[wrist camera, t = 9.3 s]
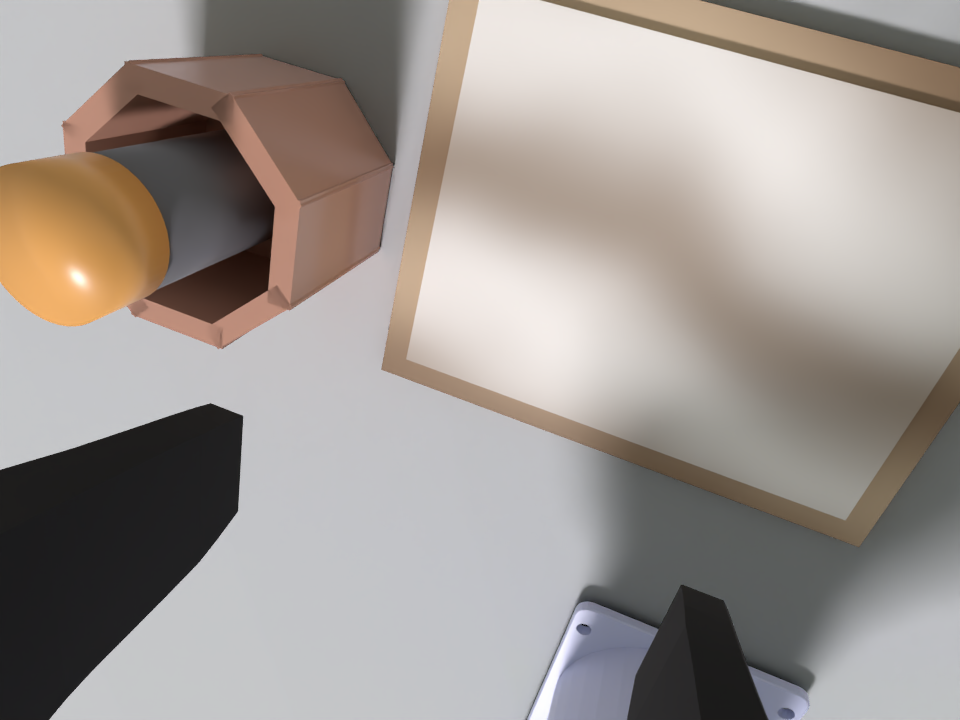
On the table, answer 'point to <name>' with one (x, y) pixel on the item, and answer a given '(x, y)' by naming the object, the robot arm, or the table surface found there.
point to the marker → (124, 222)
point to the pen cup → (276, 164)
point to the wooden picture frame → (691, 246)
